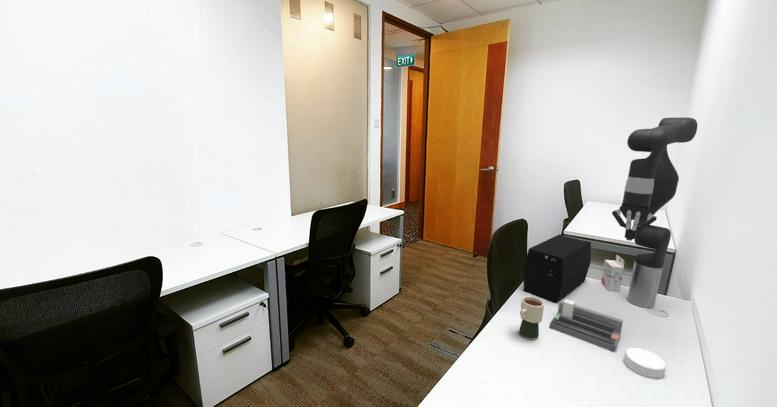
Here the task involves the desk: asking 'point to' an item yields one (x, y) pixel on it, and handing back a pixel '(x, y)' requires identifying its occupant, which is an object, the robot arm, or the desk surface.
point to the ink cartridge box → (613, 274)
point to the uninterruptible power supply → (556, 267)
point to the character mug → (531, 316)
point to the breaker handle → (568, 308)
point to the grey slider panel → (589, 326)
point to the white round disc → (645, 362)
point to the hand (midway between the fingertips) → (629, 239)
